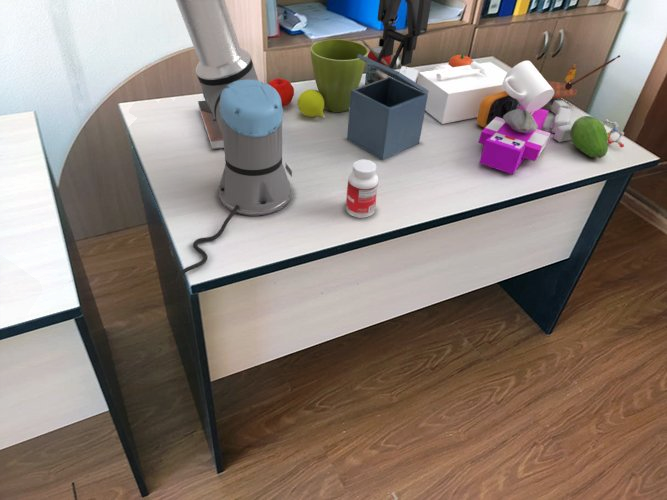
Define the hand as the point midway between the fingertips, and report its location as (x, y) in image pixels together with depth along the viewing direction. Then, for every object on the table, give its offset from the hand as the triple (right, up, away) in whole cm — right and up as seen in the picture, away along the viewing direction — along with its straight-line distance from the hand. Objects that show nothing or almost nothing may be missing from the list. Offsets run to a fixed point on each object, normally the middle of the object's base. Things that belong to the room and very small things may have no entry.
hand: (396, 59), depth 123 cm
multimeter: (+31, -4, +24) cm, 39 cm away
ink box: (+4, -6, +25) cm, 26 cm away
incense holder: (+52, +3, +36) cm, 63 cm away
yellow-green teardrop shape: (-22, -2, +21) cm, 31 cm away
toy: (+40, -7, +24) cm, 47 cm away
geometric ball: (+19, +11, +39) cm, 44 cm away
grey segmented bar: (+45, -7, +25) cm, 52 cm away
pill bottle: (-9, -36, -9) cm, 38 cm away
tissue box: (+23, -2, +31) cm, 39 cm away
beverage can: (-2, +4, +37) cm, 37 cm away
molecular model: (+63, -13, +19) cm, 67 cm away
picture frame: (-39, -12, +15) cm, 44 cm away
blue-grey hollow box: (-2, -16, +13) cm, 21 cm away
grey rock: (+31, -15, +8) cm, 35 cm away
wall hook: (+8, +2, +38) cm, 39 cm away
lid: (-1, -3, +2) cm, 4 cm away
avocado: (+49, -10, +15) cm, 52 cm away
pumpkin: (+25, +11, +48) cm, 55 cm away
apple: (-29, -4, +25) cm, 39 cm away
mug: (+37, -6, +12) cm, 39 cm away
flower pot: (-14, -4, +26) cm, 30 cm away
